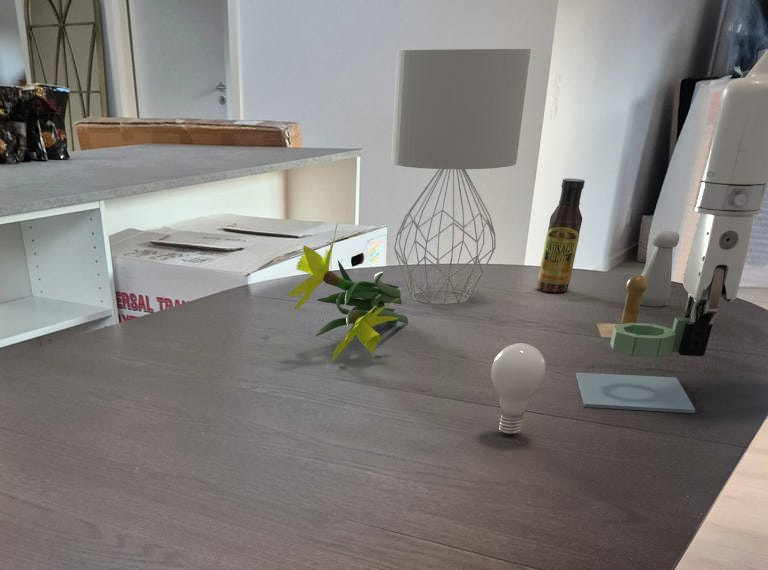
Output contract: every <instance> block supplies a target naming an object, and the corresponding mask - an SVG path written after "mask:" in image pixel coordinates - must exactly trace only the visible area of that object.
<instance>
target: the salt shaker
mask: <svg viewBox="0 0 768 570" xmlns="http://www.w3.org/2000/svg"><path fill="white" fill-rule="evenodd" d="M679 242H680V234H679V233H678V232H677V231H674V230H660V231H657V232H656V233H654V235H653V238H652V245H653V246H654V248H653V250H652V254H651V256H650V259H649V261H648V264H647V266H646V269H645V272H644V274H643V276H644V277H645V278H646V280H647V288H646V290H645V291H644V292H643V294H642V299H641V303H640V306H645V307H652V308H656V307H664V306H665V305H666V304H667V302H668V300H669V299H670V298H671V295H672V293H671V292H672V275H673V274H672V273H673V272H672V271H673V249H674V248H676V247H677V246H678V245H679Z"/></svg>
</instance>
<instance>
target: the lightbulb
mask: <svg viewBox="0 0 768 570" xmlns="http://www.w3.org/2000/svg"><path fill="white" fill-rule="evenodd" d="M546 374H547V363H546V360H545V357H544V355H543V354H542V353H541V351H540V350H539V349H538V348H536V347H535V346H533V345H532V344H528V343H522V342H520V343H519V342H518V343H513V344H510V345H507V346H506V347H504V348H502V349H501V350H500V351H499V352H498V353H497V355H496V356H495V358H494V360H493V362H492V364H491V369H490V377H491V378H490V379H491V382H492V385H493V387H494V390H495V392H496V393H497V395H498V400H499V409H500V419H499V421H500V422H499V426H498V427H499V428H498V430H499V431H500V432H501V433H502V434H504V435H505V436H509V437H510V436H514V435H517V434H518V433H520V432H521V431H522V426H523V425H522V424H523V420H524V419H523V418H524V413H525V411H526V410H527V408H528V405H529V403H530V401H531V399H532V397H533V396H534V395H535V394H536V393H537V391H538V390H539V389H540V388H541V386H542V385H543V383H544V381H545V378H546Z"/></svg>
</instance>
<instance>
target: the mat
mask: <svg viewBox="0 0 768 570" xmlns="http://www.w3.org/2000/svg"><path fill="white" fill-rule="evenodd" d="M575 378H576V382H577V385H578V390H579V393H580V397H581V400H582V405H583V407H584V408H594V409H609V410H628V411H644V412H660V413H661V412H663V413H680V414H681V413H682V414H695V413H696V408H695V406H694V405H693V403H692V401H691V400H690V398H689V396H688V395H687V393H686V391H685V390H684V388H683V386H682V384H681V382H680V381H679V379H678V377H673V376H671V377H670V376H655V375H636V374H635V375H633V374H614V373H596V372H595V373H594V372H576V373H575Z"/></svg>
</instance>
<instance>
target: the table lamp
mask: <svg viewBox="0 0 768 570" xmlns="http://www.w3.org/2000/svg"><path fill="white" fill-rule="evenodd" d="M531 51H532V48H462V49H460V48H458V49H457V48H455V49H454V48H453V49H452V48H451V49H450V48H449V49H445V48H444V49H399V50H396V63H395V81H394V83H395V84H394V101H393V116H392V117H393V119H392V137H391V139H392V140H391V155H390V164H392V165H394V166H399V167H406V168H412V169H413V168H415V169H429V170H431V169H432V170H437V171H436V172H435V173H434V175H433V176H432V177H431V179H430V181H429V182H428V183H427V185H426V186H425V187H424V189H423V190H422V192H421V193H420V195H419V196H418V198H417V199H416V200H415V202H414V203H413V204H412V206H411V208H410V209H409V210H408V212H407V213H406V214H405V216H404V218H403V220H402V222H401V225H400V227H399V229H398V231H397V234H396V238H395V242H394V247H393V249H394V253H395V256H396V259H397V261H398V265H399V268H400V270H401V273H402V276H403V279H404V281H405V284H406V287H407V290H408V292H409V296H410V298H411V299H413V300H415V301H417V302H420V303H425V304H431V305H432V304H433V305H456V304H461V303H464V302H467V301H468V302H469V299H470V297H471V296H472V294H473V292H474V290H475V288H476V287H477V285H478V283H479V281H480V279H481V277H482V275H483V274H484V272H485V270H486V268H487V266H488V264H489V263H490V260H491V258H492V257H493V254H494V252H495V250H496V233H495V228H494V225H493V224H494V223H493V221H492V217H491V214H490V213H489V211H488V209H487V208H486V205H485V203H484V202H483V199H482V198H481V196H480V194H479V192H478V190H477V189H476V186H475V185H474V182H473V180H472V179H471V178H470V176H469V175H470V174H468V172H467V170H486V169H500V168H508V167H513V166H516V165H517V160H518V153H519V144H520V138H521V137H520V136H521V128H522V123H523V122H522V121H523V113H524V104H525V97H526V90H527V81H528V74H529V68H530V67H529V66H530V57H531ZM445 170H446V171H445ZM444 171H445V174H444V177H443V180H442V184H441V187H440V190H439V193H438V197H437V200H436V203H435V206H434V209H433V213H432V216H431V217H430V218H428V219H426V221H424V222H422V224H420V222H421V219H422V216H423V213H424V210H425V209H426V207H427V205H428V202H429V201H430V199H431V197H432V195H433V193H434V191H435V189H436V187H437V185H438V184H439V181H440V179H441V177H442V175H443V173H444ZM451 171H452V216H451V215H450V214H449V213H448V212H447V211H446V210H444V206H445V201H446V196H447V192H448V186H449V180H450V176H451ZM455 171H456V178H457V184H458V191H459V197H460V203H461V204H460V205H461V210H462V223H460V222H459V221H458V220H456V219H455ZM447 174H448V175H447ZM462 174H463V175H462ZM459 176H460V177H459ZM463 177H464V178H463ZM446 178H447V181H446V185H445V191H444V197H443V201H442V205H441V206H442V207H441V209H440V210H439V211H438V212H437V213H436V210H437V207H438V203H439V201H440V197H441V194H442V190H443V188H444V184H445V180H446ZM460 179H461V182H462V186H463V189H464V193H465V196H466V200H467V203H468V207H469V209H470V214H471V217H472V219H470V220H469V221H468V222H467V223H466V224H465V211H464V204H463V197H462V190H461V185H460V183H461V182H460ZM464 179H465V182H466V184H467V187H468V189H469V191H470V194H471V196H472V198H473V201H474V203H475V206H476V208H477V210H478V213H477V214H476V215H475V216H474V213H473V210H472V206H471V203H470V199H469V195H468V192H467V188H466V185H465V182H464ZM432 182H433V184H432ZM431 184H432V185H431ZM430 185H431V187H430ZM429 187H430V189H429V190H428V193H427V194H426V196H425V198H424V199H423V201H422V203H421V205H420V207H419V208H418V210H417V212H416V214H415V215H414V217H413V216H412V214H411V213H412V211H413V210H414V208H415V207H416V206H417V204H418V203H419V201H420V199H422V197H423V196H424V194H425V192H426V191H427V189H428V188H429ZM428 196H429V197H428ZM478 204H479V205H478ZM479 206H480V208H481V210H482V212H483V214H484V215H483V214H482V212H481V210H480V208H479ZM421 209H422V210H421ZM420 211H421V212H420ZM419 213H420V216H419V219H418V222H416V220H415V219H416V218H417V217H418V214H419ZM443 213H444V214H445V215H446V216H447V217H449V218H450V219H452V222H451V223H450V224H449V225H447V226H446V227H445V228H443V229H441V226H442V225H441V224H442V218H443ZM439 214H440V219H439V224H438V233H436V234H435V235H434V236H433V237H431V238H429V235H430V232H431V227H432V224H433V219H434V217H436V216H437V215H439ZM478 216H479V217H480V222H481V227H482V229H481V232H480V233H479V236H478V232H477V225H476V220H475V219H476V218H477V217H478ZM484 216H485V217H484ZM409 217H410V219H411V221H410V222H409V223H408V224H407V225H406V223H407V221H408V219H409ZM429 221H430V224H429V227H428V232H427V236H426V237H425V235H424V234H423V232H422V230H421V229H420V228H421V227H422V226H424V225H425V224H426V223H428V222H429ZM472 222H473V226H474V233H475V238H474V237H473V236H471V235H470V234H469V233H468V232H467V231H465V228H466V227H467V226H469V224H470V223H472ZM413 225H414V226H415V229H416V230H415V236H414V241H413V242H412V245H411V247H410V250H409V252H408V255H407V257H406V247H407V242H408V238H409V235H410V232H411V230H412V227H413ZM486 225H487V227H488V228H489V232H490V237H491V249H490V251H488V252H487V253H486V254H484V255H483V256H482V257H481V258H480V259H479V257H480V255H481V252H482V251H483V248H484V245H485V227H486ZM409 226H410V227H409ZM451 226H452V241H451V249H449V251H446V252H445V253H444V254H443V255H442V256H441V257H439V253H440V250H439V249H440V235H441V233H443V232H444V231H446V230H447V229H448V228H449V227H451ZM455 226H456V227H457V228H458V229H459V230H461V231H462V240H460V242H458V243H457V244H456V245H454V241H455V240H454V239H455ZM408 227H409V229H408V232H407V235H406V237H405V241H404V247H403V250H402V247H401V240H402V239H401V238H402V234H403V231H405V229H406V228H408ZM418 231H419V233H420V235H421V237H422V238H423V240H424V241H425V246H423V245H422V244H421V243H420V242H419V241H418V240H417V234H418ZM465 235H467V236H468V237H469V238H470V239H472V240H473V242H474V243H476V255H475V256H474V257H473V255H472V254H471V252H470V250H469V248H468V246H467V244H466V242H465ZM436 237H437V258H436V256H435V255H433V254H432V253H431V252H430V251H429V250H428V249H427V248H428V243H429V242H430V241H432V240H433V239H435V238H436ZM481 237H482V245H481V248H480V250H479V241H480V239H481ZM398 238H399V239H398ZM397 242H398V247H399V250H400V253H399V252H398V250H397V248H396V246H397ZM417 244H418V245H419V247H421V248H422V249H423V250H424V256H423V257H422V258H421V259H419V253H418V247H417V246H418V245H417ZM459 245H461V246H460V249H459V254H458V259H457V262H456V267H455V271H454V272H453V273H451V268H452V263H453V255H454V249H456V248H457V247H458V246H459ZM414 246H415V254H416V259H417V263H416V265H415V266H413V268H411V270H410V268H409V265H408V260H409V258H410V255H411V253H412V250H413V248H414ZM463 246H465V249H466V250H467V252H468V254H469V256H470V260H469V261H467V262H466V263H465V264H463V265H461V267H459V263H460V259H461V254H462V249H463ZM450 252H451V257H450V263H449V269H448V275H447V273H445V272H444V269H443V268H442V265H441V263H440V260H442V259H443V258H444V257H445V256H447V255H448V254H449V253H450ZM400 254H401V255H400ZM427 254H429V255H430V256H431V257H432V258H433V259H435V260H436V262H435V263H434V262H433V261H431V259H429V258H428V257H427ZM489 254H490V255H489ZM488 255H489V258H488V259H487V261H486V263H485V265H484V267H483V269H482V265H481V261H482V260H483V259H484V258H486V257H487V256H488ZM422 261H424V273H425V286H424V283H423V277H422V272H421V266H420V263H421V262H422ZM427 261H428V262H429V263H430V264H432V266H433V268H432V271H431V273H430V275H429V277H428V271H427ZM471 262H473V264H472V266H471V267H470V269H468V271H467V272H466V273H465V274H464V275H463V276H462V277H461V278H460V280H458V282H457V283H456V284H455V279H456V275H457V273H458V272H459V271H460V270H461V269H463V268H465V267H466V266H467V265H469V264H470V263H471ZM401 263H402V264H401ZM477 264H478V266H479V269H480V272H481V273H480V274H479V275H478V277H477V278H476V279H475V280H474V275H475V271H476V266H477ZM402 265H403V267H404V270H405V273H404V270H403V267H402ZM416 267H418V271H419V279H420V283H419V282H418V280H417V279H416V277H415V276H414V274H413V273H412V272H413V271H414V270H415V269H416ZM458 267H459V268H458ZM435 269H436V289H429V281H430V279H431V278H432V275H433V273H434V271H435ZM439 271H440V273H441V274H442V275H443V277H444V279H445V280H444V282H443V283H442V284H441V285H440V286H439V288H438V284H439ZM450 273H451V274H450ZM405 275H406V276H405ZM467 275H468V277H467ZM452 276H453V279H452V281H451V277H452ZM465 277H467V279H466V281H465V283H464V287H463V289H462V291H457V290H456V291H455V288H456V287H457V286H458V285H459V284H460V283H461V282H462V281H463V279H464V278H465ZM471 277H472V278H471ZM470 279H471V281H470ZM469 281H470V287H469V288H468V289H467V290H466V288H467V286H468V284H469ZM473 281H474V282H473ZM413 282H414V283H413ZM445 284H446V287H445V289H442V287H443V286H445ZM454 284H455V285H454ZM414 285H416V287H417V288H418V289H419V291H416V289H415V286H414ZM448 288H449V289H448ZM465 291H466V292H465ZM430 292H435V293H434V294H433V295H432V297H431V299H430ZM438 292H445V293H444V299H443V302H435V301H433V299H434V298H435V296H436V295H437V294H438ZM425 293H427V296H426V294H425ZM447 293H453V294H454V298H455V299H456V301H455V302H452V301H451V302H446V298H447ZM467 293H468V294H467ZM418 294H422V295H423V297H424V299H425V300H420V299H418V296H417V295H418ZM457 294H460V296H459V299H458V296H457ZM464 297H467V298H466V299H464ZM463 299H464V300H463Z"/></svg>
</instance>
